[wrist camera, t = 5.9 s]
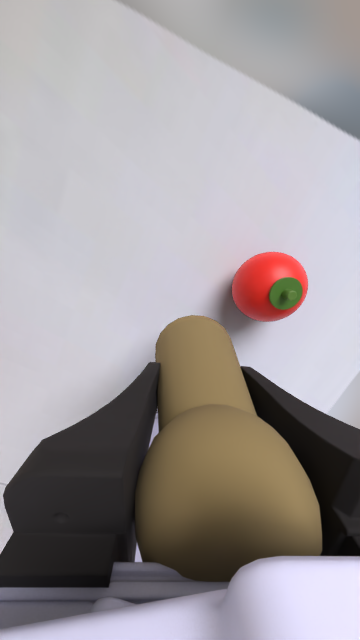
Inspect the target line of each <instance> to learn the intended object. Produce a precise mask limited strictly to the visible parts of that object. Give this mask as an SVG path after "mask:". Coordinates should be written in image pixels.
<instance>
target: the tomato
mask: <svg viewBox="0 0 360 640" xmlns="http://www.w3.org/2000/svg"><path fill="white" fill-rule="evenodd" d="M307 290H308V279H307V275H306V272H305V270H304V268H303V267H302V265H301V264H300V263H299V262H298V261H297V260H296V259H294V258H293V257H291V256H289V255H287V254H284V253H279V252H266V253H262V254H258V255H256V256H254V257H252V258H250V259H249V260H247V261H246V262H245V263H244V264H243V265H242V266H241V267H240V268H239V269H238V271H237V273H236V275H235V277H234V280H233V284H232V295H233V299H234V302H235V304H236V306H237V307H238V308H239V310H240V311H241V312H242V313H243V314H245V315H246V316H248V317H250V318H252V319H254V320H258V321H264V322H269V321H276V320H280V319H283V318H285V317H287V316H289V315H291V314H292V313H293V312H295V311H296V310H297V309H298V308H299V307H300V305H301V304H302V302H303V301H304V299H305V297H306V294H307Z"/></svg>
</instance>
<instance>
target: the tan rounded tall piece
mask: <svg viewBox="0 0 360 640" xmlns="http://www.w3.org/2000/svg"><path fill="white" fill-rule="evenodd" d="M155 358H156V362H157V363H160V370H159V379H158V388H157V404H158V428H159V433H158V434H157V435H156V436H155V437H154V439H153V441H152V443H151V445H150V447H149V449H148V451H147V453H146V456H145V458H144V461H143V463H142V465H141V468H140V470H139V475H138V480H137V485H136V490H135V535H136V541H137V544H138V548H139V551H140V555H141V559H142V562H157V563H160V564H162V565H164V566H167V567H169V568H171V569H173V570H176V571H177V572H178V573H179V574H180V575H181V576H182V577H185V578H188V579H191V580H195V581H205V582H230V581H231V579H232V577H233V576H234V575H235V573H236V572H237V571H238V570H239V568H240V567H242V566H244V565H247V564H249V563H251V562H253V561H255V560H257V559H262V558H269V557H276V556H320V554H321V552H322V528H321V518H320V508H319V503H318V501H317V498H316V495H315V493H314V490H313V487H312V484H311V482H310V479H309V478H308V476H307V474H306V472H305V471H304V469H303V467H302V466H301V464H300V462H299V461H298V459H297V457H296V456H295V454H294V453H293V451H292V449H291V448H290V446H289V445H288V443H287V442H286V441H285V440H284V439H283V438H282V437H281V436H280V434H279V433H278V432H277V431H276V430H275V429H274V428H273V427H271V426H270V425H269V424H267V423H266V422H265V421H263V420H262V419H261V418H259V417H258V416H257V414H256V411H255V408H254V405H253V403H252V400H251V397H250V394H249V391H248V388H247V385H246V382H245V379H244V376H243V373H242V370H241V367H240V365H239V362H238V359H237V356H236V353H235V350H234V347H233V344H232V341H231V338H230V337H229V335H228V333H227V331H226V330H225V328H224V327H223V326H221V325H220V324H219V323H218V322H217V321H215V320H213V319H210V318H208V317H205V316H194V315H190V316H186V317H182V318H178V319H177V320H175V321H173V322H172V323H170V324H168V325H167V326H166V328H165V329H164V330H163V331H162V332H161V333H160V335H159V338H158V340H157V343H156V353H155Z"/></svg>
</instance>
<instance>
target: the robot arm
mask: <svg viewBox="0 0 360 640" xmlns="http://www.w3.org/2000/svg"><path fill="white" fill-rule="evenodd" d="M240 367H241V370H242V373H243V376H244V379H245V382H246V385H247V388H248V391H249V394H250V397H251V400H252V403H253V405H254V408H255V411H256V414H257V416H258V417H259V418H261V419H262V420H263V421H265V422H266V423H267V424H269V425H270V426H271V427H273V428H274V429H275V430H276V431H277V432H278V433H279V434H280V436H281V437H282V438H283V439H284V440H285V441H286V442H287V443H288V445H289V446H290V448H291V449H292V451H293V453H294V454H295V456H296V457H297V459H298V461H299V462H300V464H301V466H302V467H303V469H304V471H305V472H306V474H307V476H308V478H309V479H310V482H311V484H312V487H313V490H314V493H315V495H316V498H317V501H318V503H319V508H320V518H321V528H322V552H321V554H320V556H276V557H269V558H262V559H257V560H255V561H253V562H251V563H249V564H247V565H244V566H242V567H240V568H239V570H238V571H237V572H236V573H235V575H234V576H233V577H232V579H231V581H230V582H205V581H195V580H191V579H188V578H185V577H182V576H181V575H180V574H179V573H178V572H177V571H176V570H173V569H171V568H169V567H167V566H164V565H162V564H160V563H157V562H142V559H141V555H140V551H139V548H138V544H137V541H136V535H135V490H136V485H137V480H138V475H139V470H140V468H141V465H142V463H143V461H144V458H145V456H146V453H147V451H148V449H149V447H150V445H151V443H152V441H153V439H154V437H155V436H156V435H157V434H158V433H159V428H158V413H156V411H157V407H158V404H157V388H158V379H159V370H160V363H157V362H150V363H149V364H148V365H147V366H146V367H145V369H144V370H143V371H142V372H141V374H140V375H139V376H138V377H137V378H136V379H135V380H134V381H133V382H132V383H131V384H130V385H129V386H128V387H127V388H126V389H125V390H124V391H123V392H122V393H121V394H120V395H119V396H117V397H116V398H115V399H114V400H112V401H111V402H110V403H109V404H107V405H106V406H104V407H103V408H101V409H100V410H98V411H97V412H95V413H94V414H92V415H90V416H89V417H87V418H85V419H84V420H82V421H80V422H78V423H76V424H75V425H73V426H71V427H69V428H67V429H65V430H62V431H60V432H58V433H56V434H54V435H52V436H50V437H48V438H45V439H43V440H42V441H41V442H40V443H39V445H38V446H37V447H36V448H35V449H34V450H33V452H32V453H31V454H30V455H29V457H28V458H27V459H26V461H25V462H24V463H23V465H22V466H21V467H20V469H19V470H18V472H17V473H16V474H15V476H14V477H13V478H12V480H11V481H10V482H9V484H8V485H7V486H6V488H5V491H4V495H3V498H4V505H5V509H6V512H7V514H8V517H9V520H10V523H11V526H12V528H13V531H14V532H13V534H12V536H11V537H10V539H9V541H8V542H7V544H6V546H5V547H4V549H3V551H2V552H1V554H0V640H360V429H358V428H355V427H353V426H350V425H348V424H346V423H344V422H341V421H339V420H337V419H335V418H333V417H331V416H329V415H327V414H325V413H323V412H321V411H319V410H317V409H315V408H313V407H311V406H310V405H308V404H306V403H304V402H302V401H301V400H299V399H297V398H296V397H294V396H292V395H291V394H289V393H288V392H286V391H284V390H283V389H281V388H280V387H278V386H277V385H276V384H274V383H273V382H271V381H270V380H268V379H267V378H266V377H264V376H263V375H261V374H260V373H258V372H257V371H255V370H254V369H252V368H251V367H244V366H240Z"/></svg>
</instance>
